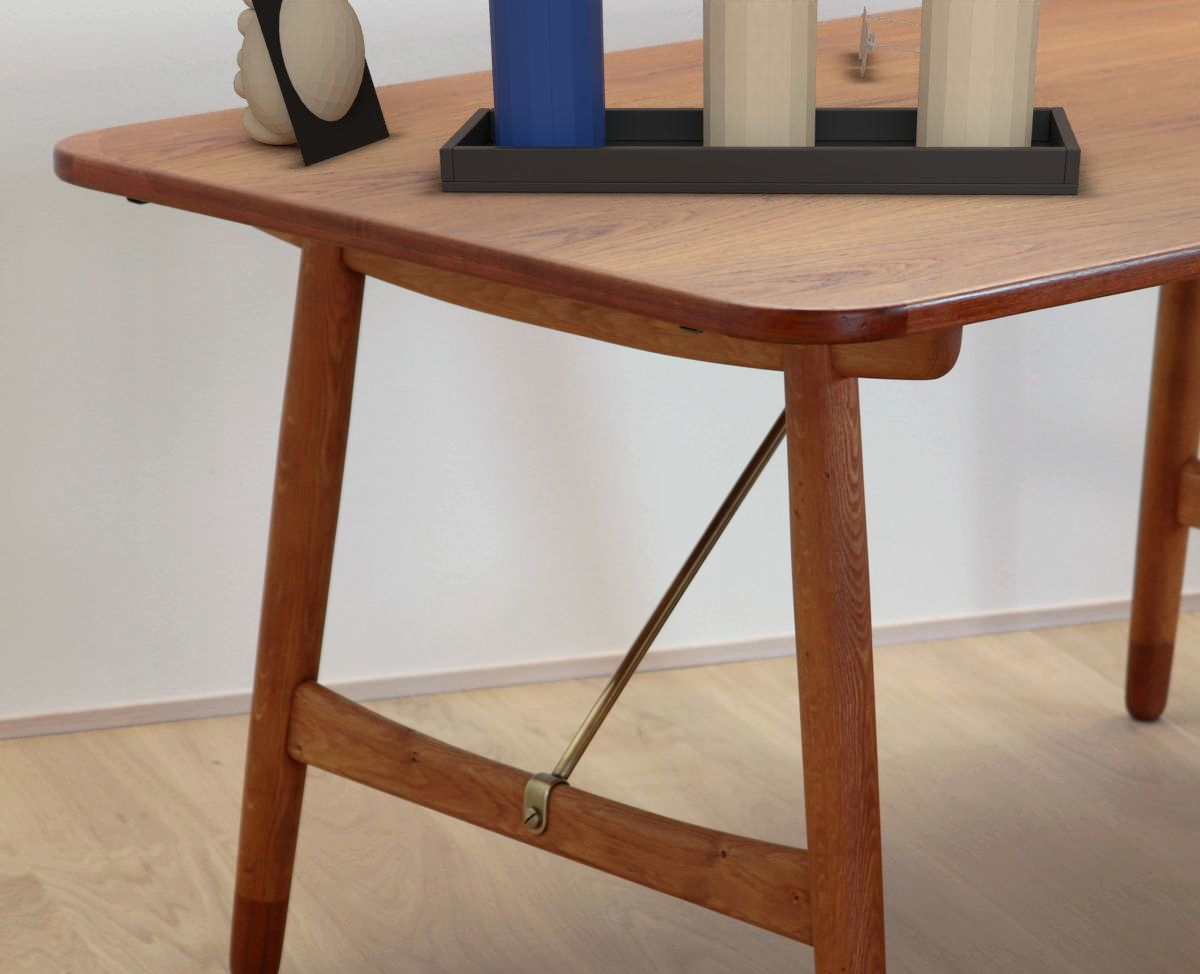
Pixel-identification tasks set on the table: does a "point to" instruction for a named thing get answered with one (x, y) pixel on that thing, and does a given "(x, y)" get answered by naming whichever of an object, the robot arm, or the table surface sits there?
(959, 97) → the cream bottle far
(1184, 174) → the table surface
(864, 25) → the eyeglasses
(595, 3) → the blue bottle
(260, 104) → the decorative object
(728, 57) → the cream bottle mid
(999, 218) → the table surface
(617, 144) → the tray
